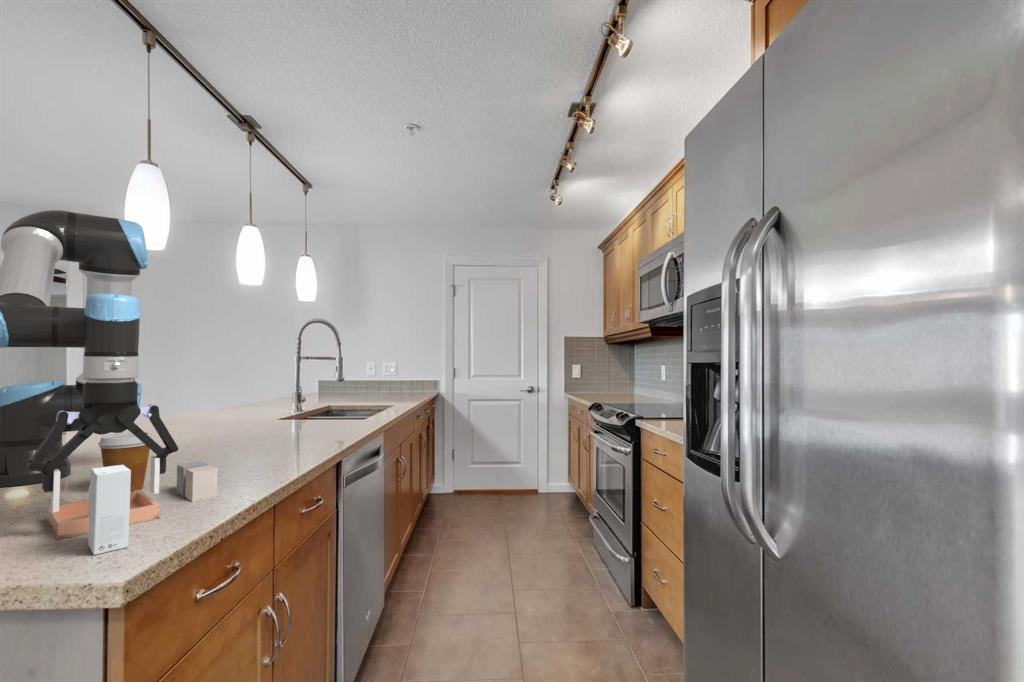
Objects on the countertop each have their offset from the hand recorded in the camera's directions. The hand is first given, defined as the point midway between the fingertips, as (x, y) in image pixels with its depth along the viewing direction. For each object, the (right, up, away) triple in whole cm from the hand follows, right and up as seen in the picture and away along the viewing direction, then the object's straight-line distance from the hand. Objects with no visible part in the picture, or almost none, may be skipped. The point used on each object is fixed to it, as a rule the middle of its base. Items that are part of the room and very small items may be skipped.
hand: (107, 500), depth 84 cm
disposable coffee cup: (-14, -5, +21) cm, 25 cm away
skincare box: (+9, -4, -10) cm, 14 cm away
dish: (-2, -4, +2) cm, 5 cm away
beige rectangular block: (+7, -4, +15) cm, 17 cm away
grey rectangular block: (+2, -5, +19) cm, 20 cm away
